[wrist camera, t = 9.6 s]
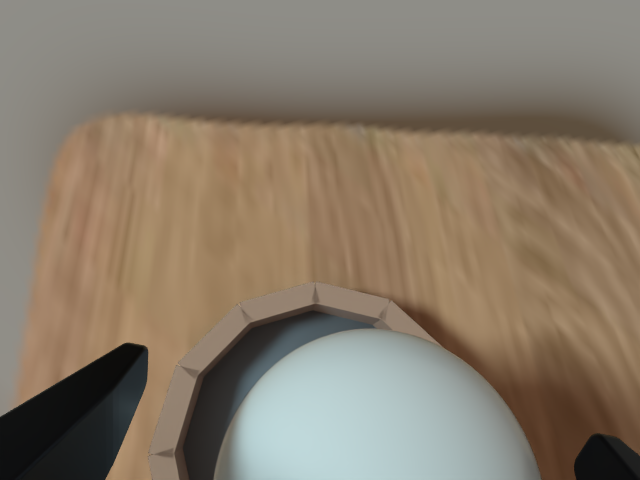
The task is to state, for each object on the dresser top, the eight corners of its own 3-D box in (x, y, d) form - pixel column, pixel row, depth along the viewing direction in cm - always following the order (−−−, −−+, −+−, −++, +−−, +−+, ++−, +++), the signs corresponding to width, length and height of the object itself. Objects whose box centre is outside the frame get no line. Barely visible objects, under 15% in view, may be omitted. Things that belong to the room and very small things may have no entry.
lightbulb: (345, 321, 18) (436, 229, 8) (451, 461, 17) (730, 578, 6) (207, 427, 16) (85, 493, 6) (313, 590, 15) (388, 1025, 5)
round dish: (200, 678, 15) (189, 722, 13) (135, 338, 18) (118, 330, 16) (506, 546, 17) (538, 567, 15) (400, 261, 20) (415, 247, 18)
